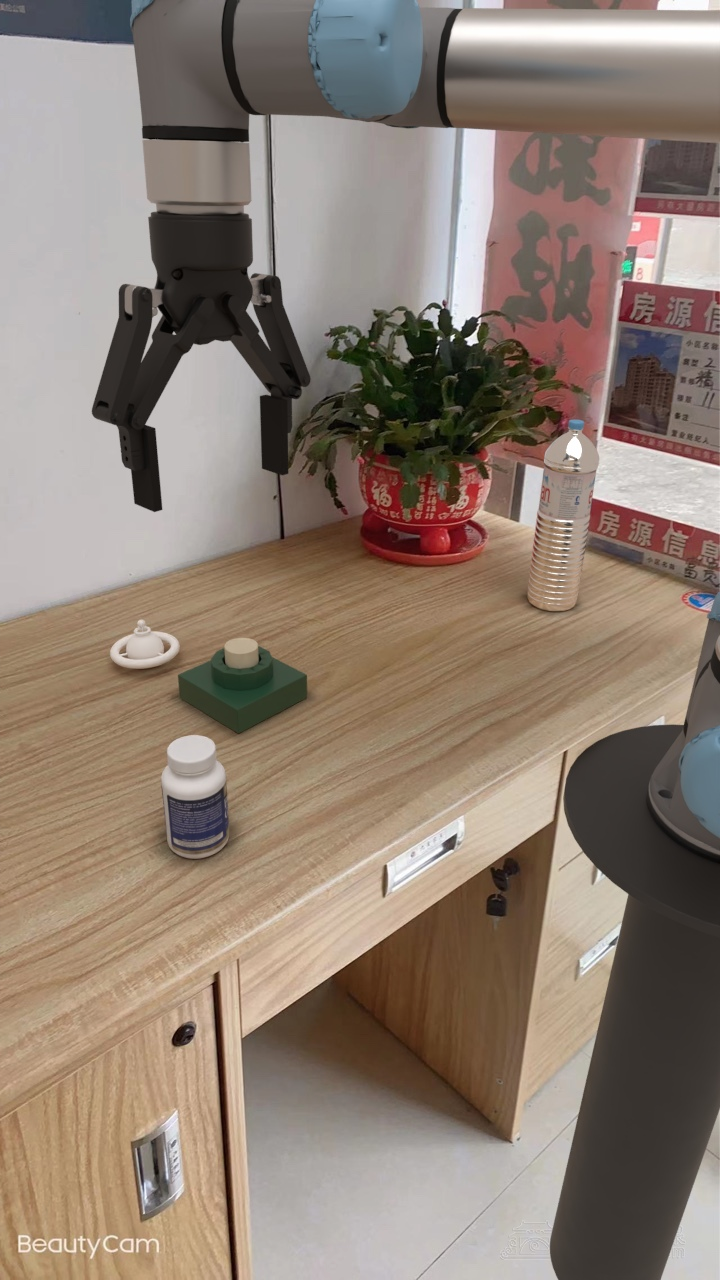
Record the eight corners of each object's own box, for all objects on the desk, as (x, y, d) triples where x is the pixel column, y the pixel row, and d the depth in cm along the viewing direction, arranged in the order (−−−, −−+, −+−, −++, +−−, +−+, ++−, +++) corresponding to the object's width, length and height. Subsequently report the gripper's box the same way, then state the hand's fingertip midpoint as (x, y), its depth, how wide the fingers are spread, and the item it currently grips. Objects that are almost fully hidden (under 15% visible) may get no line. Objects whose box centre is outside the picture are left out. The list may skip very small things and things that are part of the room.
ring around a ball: (173, 680, 101) (187, 646, 108) (167, 636, 98) (182, 604, 105) (104, 680, 101) (122, 646, 108) (96, 636, 98) (115, 604, 105)
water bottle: (567, 617, 117) (595, 431, 106) (518, 605, 120) (541, 422, 108) (582, 598, 123) (611, 419, 111) (536, 587, 126) (559, 411, 114)
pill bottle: (240, 845, 77) (236, 753, 72) (183, 869, 74) (175, 775, 69) (212, 812, 81) (206, 722, 76) (157, 833, 78) (147, 742, 73)
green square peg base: (307, 697, 98) (307, 658, 96) (238, 734, 92) (236, 693, 89) (248, 666, 104) (246, 628, 102) (179, 697, 98) (176, 658, 95)
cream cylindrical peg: (265, 661, 96) (265, 645, 95) (240, 673, 93) (239, 657, 92) (243, 650, 98) (243, 634, 97) (218, 661, 96) (217, 645, 95)
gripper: (289, 204, 75) (292, 450, 85) (14, 208, 59) (58, 511, 69) (353, 209, 70) (348, 467, 81) (76, 214, 54) (113, 537, 64)
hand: (215, 488), depth 75 cm, fingers open, 13 cm apart
